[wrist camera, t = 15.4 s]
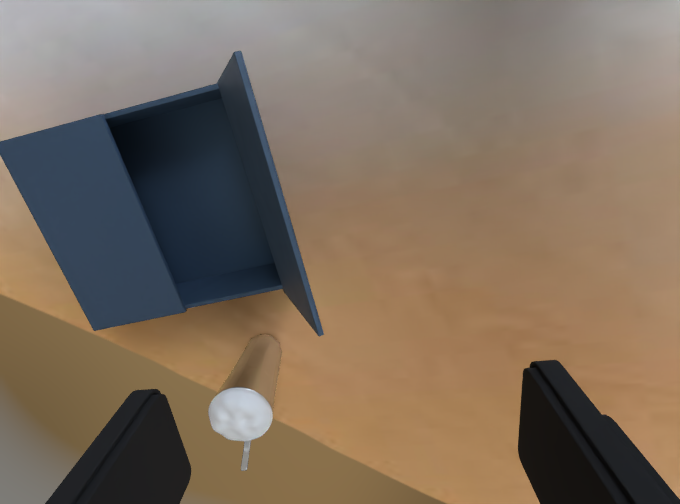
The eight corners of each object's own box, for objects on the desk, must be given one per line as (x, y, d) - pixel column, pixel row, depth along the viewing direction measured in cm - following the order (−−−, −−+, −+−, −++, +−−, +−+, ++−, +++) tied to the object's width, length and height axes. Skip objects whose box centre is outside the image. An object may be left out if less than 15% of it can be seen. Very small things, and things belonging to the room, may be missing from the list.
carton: (63, 136, 29) (-8, 142, 23) (245, 87, 27) (218, 81, 21) (137, 294, 33) (93, 331, 27) (297, 260, 32) (285, 292, 26)
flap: (233, 51, 15) (241, 50, 15) (216, 82, 21) (222, 81, 22) (319, 337, 20) (324, 334, 20) (283, 292, 26) (288, 290, 26)
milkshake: (248, 378, 36) (212, 473, 27) (234, 330, 34) (190, 413, 25) (295, 373, 36) (275, 468, 26) (284, 324, 34) (258, 407, 24)
